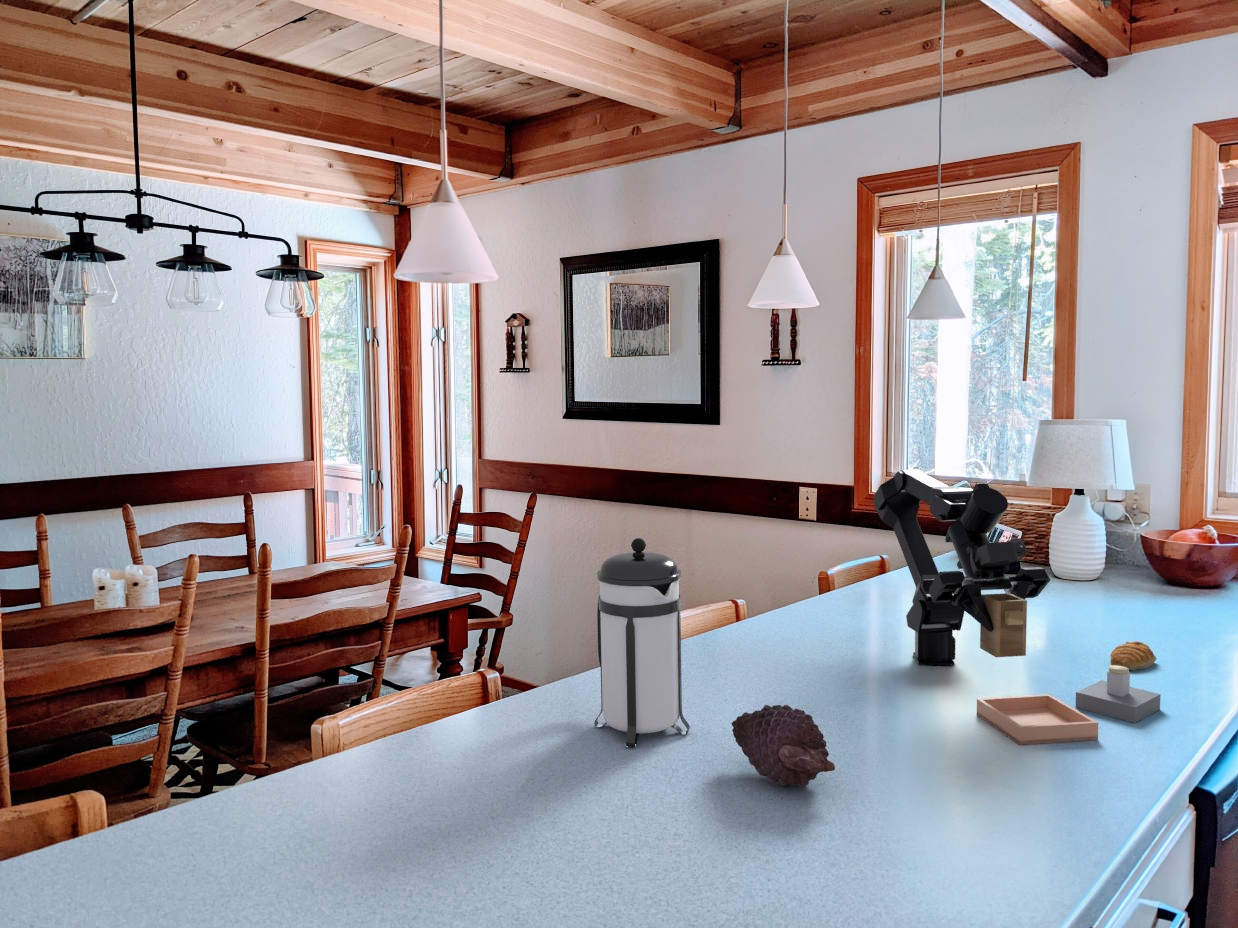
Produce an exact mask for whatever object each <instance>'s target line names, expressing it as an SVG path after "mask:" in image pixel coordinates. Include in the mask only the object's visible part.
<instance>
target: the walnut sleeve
mask: <svg viewBox="0 0 1238 928" xmlns="http://www.w3.org/2000/svg"><path fill="white" fill-rule="evenodd" d="M981 596H982V599H983V601H984V604H985V606H986V608H987V611H988V613H989V615H990V618H991V620H992V623H993V627H994V630H993V631H992V632H989V631H988V630H987V629H986V628H984V627H983V626H982V625H981V624H980V623H979V624H980V625H979V626H980V628H979V629H980V630H979V631H980V632H979V633H980V634H979V635H980V637H979V640H980V641H979V648H980V649H981V650H983V652H984V651H985V652H986V653H988V654H990V655H991V656H993V657H994V658H1008V657H1010V658H1011V657H1024V656H1025V657H1026V655H1027V625H1028V624H1027V623H1028V622H1027V616H1028V615H1027V614H1028V600H1027V599H1026V598H1025V599H1022V598H1020V597H1018V596H1015V595H1013V594H1010V593H990V594H989V593H988V594H987V593H986V594H985V593H983V594H981Z"/></svg>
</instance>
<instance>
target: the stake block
mask: <svg viewBox="0 0 1238 928" xmlns="http://www.w3.org/2000/svg"><path fill="white" fill-rule="evenodd" d="M1106 672H1107V673H1106V680H1103V679H1101V680H1100V681H1098V682H1095V683H1092V684H1090V685H1088V686H1086V687H1084V688H1081V689H1080V690H1077V691H1076V692H1075V708H1077V709H1081V710H1084V711H1088V712H1092V713H1096V714H1100V715H1103V716H1107V717H1110V718H1115V719H1117V720H1118V719H1119V720H1122V721H1126V722H1129V723H1133V724H1136V723H1138V722H1140V721H1142V720H1143V719H1146V718H1147V717H1149V716H1151V715H1153V714H1154V713H1156V712H1158V711H1160V710H1161V693H1157V692H1153V691H1149V690H1145V689H1140V688H1137V687H1132V686H1130V683H1131V678H1130V677H1131V672H1130V670H1129V669H1128V668H1126V667H1123V666H1117V665H1109V666H1108V670H1107V671H1106Z"/></svg>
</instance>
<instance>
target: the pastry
mask: <svg viewBox="0 0 1238 928" xmlns="http://www.w3.org/2000/svg"><path fill="white" fill-rule="evenodd" d="M1156 661H1157V657H1156V656H1155V654H1154V652H1153V651H1152V649H1151V648H1150V646H1149V645H1148V644H1146V643H1144V642H1142V641H1137V640H1136V641H1126V642H1125V643H1123V644H1121V645H1120V644H1119V645H1117V646H1116V647H1115V648H1114V649H1113V650H1112V651H1111V652H1110V666H1112V665H1117V666H1123V667H1126V668H1128V669H1129V671H1132V672H1133V671H1138V669H1139V670H1145V669H1147V668H1148V667H1152V666H1153V665H1154V664H1155V662H1156Z"/></svg>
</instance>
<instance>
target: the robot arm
mask: <svg viewBox="0 0 1238 928" xmlns="http://www.w3.org/2000/svg"><path fill="white" fill-rule="evenodd" d="M872 501H873V508H874V509H875V510H876V513H877V514H878V516H879V517H880V520H881V521H882V522H883V523H884V524H886V525H887V526H889V527H890V528H891V529H893V532H894V534H895V536H896V538H897V542H898V544H899V547H900V550H901V551H902V554H903V557H904V560H905V563H906V564H907V568H908V570H909V572H910V575H911V578H912V581H913V583H914V585H915V590H914V594H913V597H912V601H911V602H912V606H911V607H910V608H909V611H908V612H907V614H906V615H905V616H906V624H907V627H908V628H909V629H911V630H913V631H914V634H915V635H914V645H915V646H914V652H912V655H913V656H912V657H914V659H915V661H916V663H917V664H918V665H922V666H923V665H927V666H928V665H929V666H932V665H934V666H955V660H956V638H955V637H954V635H953V631H957V632H959V631H961V629H962V626H963V620H964V616H965V613H967V614H968V615H970V616H971V618H973V619H974V620H975V621H977V623H979V624H981V625H982V626H983V627H984V628H986V629H987V630H988V631H989V632H992V631H993V630H994V627H993V623H992V620H991V618H990V615H989V613H988V611H987V608H986V606H985V604H984V601H983V599H982V596H981V595H982V591H994V590H995V591H996V590H997V591H998V590H1003V591H1004V592H1005V593H1010V594H1013V595H1015V596H1018V597H1020V598H1022V599H1025V600H1026V599H1034V598H1037V597H1038V596H1039V595H1040V594H1041V593H1042V591H1043V590H1044V589H1045V588H1046V586H1047V585H1048V584H1049V583H1050V581H1051V578H1050V576H1049V574H1048V571H1047V570H1046V569H1045V568H1043V567H1040V566H1037V567H1021V568H1020V569H1019V570H1018V572H1017V573H1016V575H1015V576H1005V574H1006V573H1008V572H1009V571H1010V569H1011V566H1010V565H1011V564H1012V563H1018V562H1019V560H1020V559H1022V558H1025V557H1026V556H1027V553H1028V552H1027V548H1026V545H1025V542H1024V541H1023V540H1022V538H1020V537H1017V538H1016V537H1015V538H1014V537H1013V538H1010V539H1009V540H1006V541H995V542H990V540H989V536H988V533H991V532H993V530H994V529H995V528H996V526H997V524H998V523H999V521H1001V519H1002V517H1003V516H1004V514H1005V512H1006V511H1007V510H1008V507H1009V501H1008V499H1007V497H1006V496H1004V494H1002V493H1001V492H1000V491H998V490H997V489H994V488H992V487H990V485H989V484H988V482H979V483H978V482H977V483H975V485H974V486H973V488H972V487H971V488H970V487H963V486H951V485H947V484H945V483H943V482H941V481H939V480H938V479H935V478H934V477H932V476H929V475H928V474H926V473H925V471H923V470H920V469H901V470H899V471H897V472H895V474H894V476H892V477H891V478H889V479H887V480H886V481H885V482H883V483H882V484H880V485H879V487H878V488H877V490H876V492H875V493H874V495H873V499H872ZM922 502H923V503H924V504H926V505H928V506H929V512H930V514H931V515H932V516H933V517H934V518H935V519H936V520H937V521H938V522H951V525H950V526H949V527H948V529H947V533H946V535H945V540H944V541H945V543H952V544H953V545H952V546H953V548H954V550H955V553H956V555H957V558H958V562H956V566H957V569H958V570H947V571H943V570H942V571H939V569H938V567H937V565H936V563H935V561H934V558H933V555H932V553H931V550H930V548H929V546H928V543H927V541H926V538H925V537H924V534H923V531H922V529H921V526H920V524H919V522H918V518H917V517H918V514H919V511H920V507H921V505H920V504H921V503H922ZM961 570H963V572H962V571H961Z"/></svg>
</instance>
